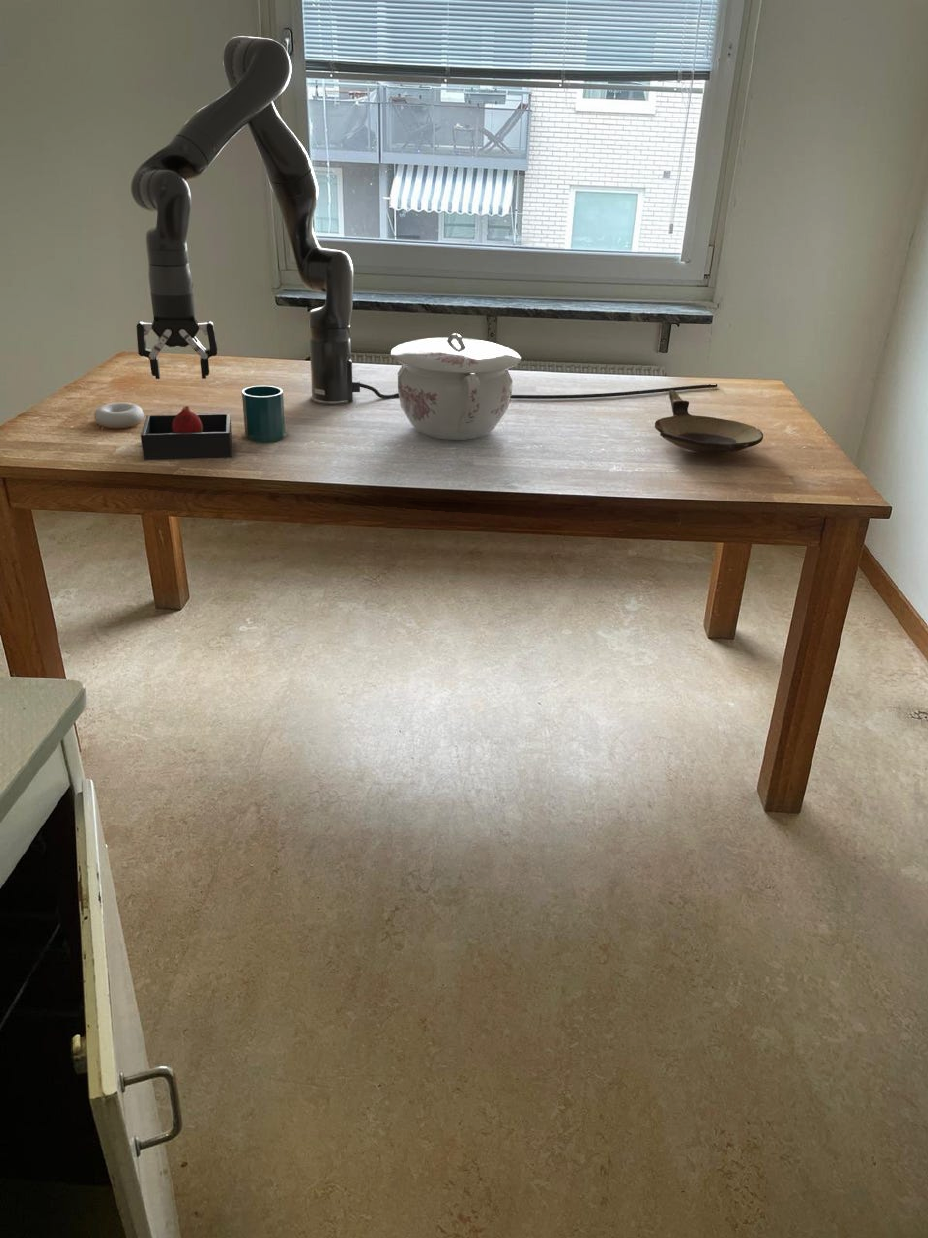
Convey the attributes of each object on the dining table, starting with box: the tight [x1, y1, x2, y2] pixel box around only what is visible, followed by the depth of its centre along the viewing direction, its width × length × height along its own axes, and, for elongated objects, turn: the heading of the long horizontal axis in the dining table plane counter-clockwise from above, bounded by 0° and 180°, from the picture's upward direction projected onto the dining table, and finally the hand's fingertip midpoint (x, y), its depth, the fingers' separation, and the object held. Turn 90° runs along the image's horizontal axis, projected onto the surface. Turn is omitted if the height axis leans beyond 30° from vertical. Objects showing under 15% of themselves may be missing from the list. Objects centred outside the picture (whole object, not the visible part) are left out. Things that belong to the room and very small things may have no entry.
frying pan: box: [654, 390, 764, 454], centre depth 192 cm, size 22×30×8 cm
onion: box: [172, 405, 203, 433], centre depth 177 cm, size 6×6×8 cm
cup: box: [241, 385, 286, 444], centre depth 185 cm, size 8×8×10 cm
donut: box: [93, 402, 145, 429], centre depth 189 cm, size 10×3×10 cm
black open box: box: [140, 413, 233, 461], centre depth 178 cm, size 16×12×5 cm
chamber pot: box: [390, 332, 522, 441], centre depth 190 cm, size 28×28×21 cm
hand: (181, 377), depth 172 cm, fingers open, 8 cm apart
